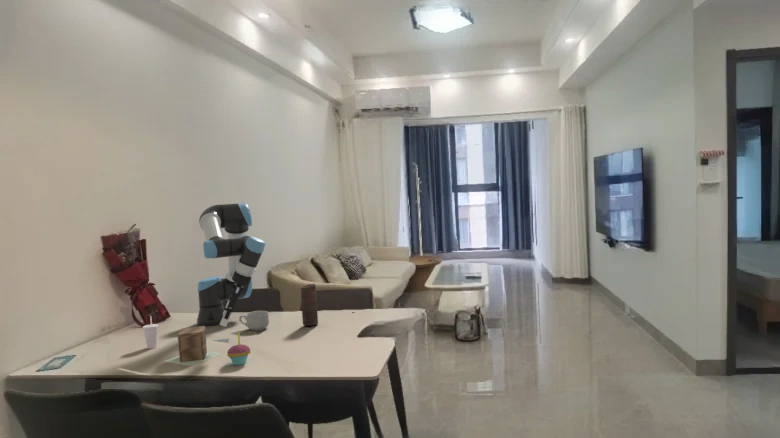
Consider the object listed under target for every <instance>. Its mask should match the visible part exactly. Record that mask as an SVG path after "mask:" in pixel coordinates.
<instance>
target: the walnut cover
mask: <svg viewBox="0 0 780 438" xmlns="http://www.w3.org/2000/svg"><path fill="white" fill-rule="evenodd" d="M206 334H207V333H206V326H200V325H199V326H194V327H193V326H192V327H182V328H181V329H180V331H179V332H178V334H177V342H178V353H179V355H178V356H180V362H188V361H196V360H204V359H205V356H206V354H207V351H208V347H207V335H206Z"/></svg>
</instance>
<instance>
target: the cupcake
mask: <svg viewBox="0 0 780 438" xmlns="http://www.w3.org/2000/svg"><path fill="white" fill-rule="evenodd" d="M240 336H241V333H240V332H237V345H236V344H234V345H233V346H230V348H229V349H228V350H227V353H226V354H227V357H228V358H229V359H230V360H231V362H232V364H233V365H234V366H241V365H245V364H247V360H248V356H249V354H251V348H250V347H249V346H248V345H247V344H241V337H240Z"/></svg>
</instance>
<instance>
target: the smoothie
mask: <svg viewBox="0 0 780 438" xmlns="http://www.w3.org/2000/svg"><path fill="white" fill-rule="evenodd" d="M149 319H150V324H146V325H144V326H142V330H143V333H144V337H145V338H144V339H145V343H146V347H147V349H148V350H149V349H150V350H151V349H156V348H157V347H158V331H159V324H157V323H153V319H152V315H149Z"/></svg>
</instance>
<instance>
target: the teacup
mask: <svg viewBox="0 0 780 438" xmlns="http://www.w3.org/2000/svg"><path fill="white" fill-rule="evenodd" d="M269 314H270V313H269V311H267V310H254V311H250V312H248V313H246V314H241V315H239V318H238V321H239V322H240V324H242V325H244V326H245V327H247V328H248V329H249V330H250V331H256V332H259V331H263V330H265V329H267V328H268V326H269V323H270V319H269V317H270V315H269ZM242 318H244V320H245V321H246V322H244V321H243V320H242Z"/></svg>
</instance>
